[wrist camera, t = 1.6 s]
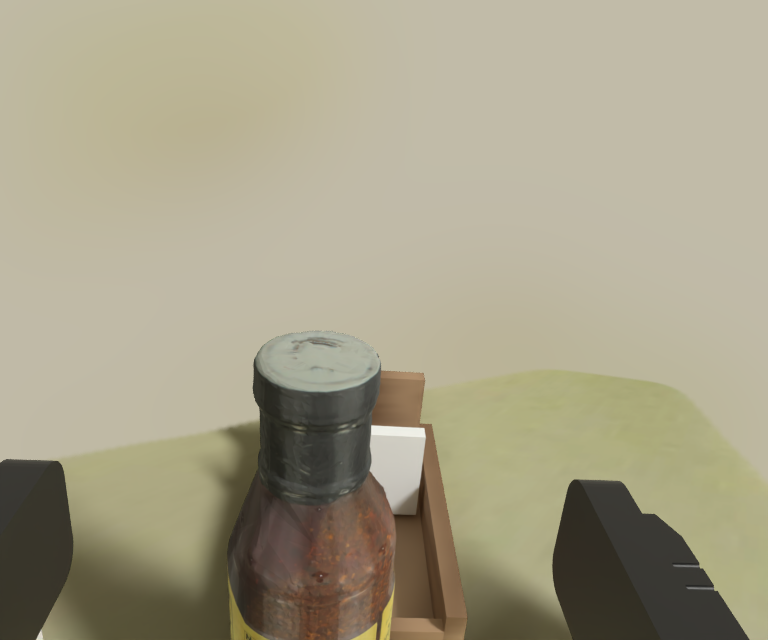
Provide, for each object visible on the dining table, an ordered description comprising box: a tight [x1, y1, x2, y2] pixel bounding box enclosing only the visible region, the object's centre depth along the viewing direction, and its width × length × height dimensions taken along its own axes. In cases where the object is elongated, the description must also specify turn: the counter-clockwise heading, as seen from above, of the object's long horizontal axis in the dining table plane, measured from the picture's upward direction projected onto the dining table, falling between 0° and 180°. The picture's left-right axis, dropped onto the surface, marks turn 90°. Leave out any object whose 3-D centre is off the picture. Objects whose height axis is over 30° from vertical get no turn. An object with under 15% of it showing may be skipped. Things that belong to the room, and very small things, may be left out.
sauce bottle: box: [227, 331, 396, 640], centre depth 26 cm, size 7×6×20 cm
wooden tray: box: [372, 371, 468, 640], centre depth 39 cm, size 11×17×8 cm, turn 2°
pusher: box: [369, 425, 426, 515], centre depth 41 cm, size 8×1×6 cm, turn 92°
